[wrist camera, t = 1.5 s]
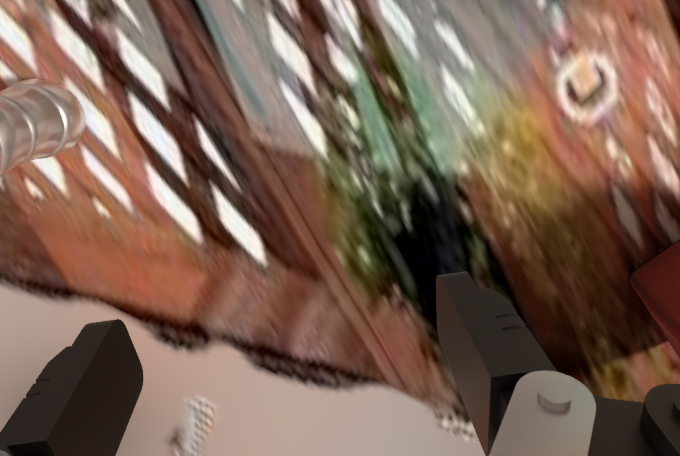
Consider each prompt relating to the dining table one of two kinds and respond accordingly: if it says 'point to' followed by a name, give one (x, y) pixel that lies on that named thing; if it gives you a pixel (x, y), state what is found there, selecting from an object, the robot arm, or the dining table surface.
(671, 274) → the plant pot
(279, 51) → the dining table surface
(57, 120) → the plastic bottle
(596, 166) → the dining table surface
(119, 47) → the dining table surface
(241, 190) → the dining table surface
